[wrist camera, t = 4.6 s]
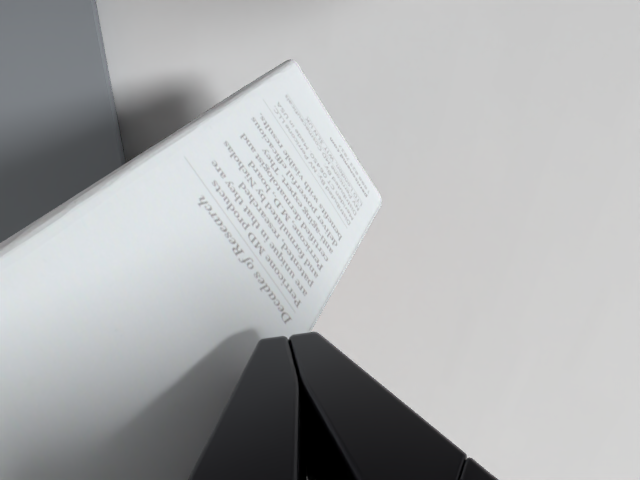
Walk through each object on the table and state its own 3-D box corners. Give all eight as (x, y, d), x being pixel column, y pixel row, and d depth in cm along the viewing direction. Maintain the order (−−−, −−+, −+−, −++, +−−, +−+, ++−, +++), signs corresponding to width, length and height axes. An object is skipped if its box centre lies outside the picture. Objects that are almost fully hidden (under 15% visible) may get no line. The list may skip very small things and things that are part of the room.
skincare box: (225, 280, 18) (-182, 749, 8) (137, 161, 17) (-450, 536, 7) (396, 202, 15) (58, 818, 5) (300, 48, 14) (-367, 449, 4)
